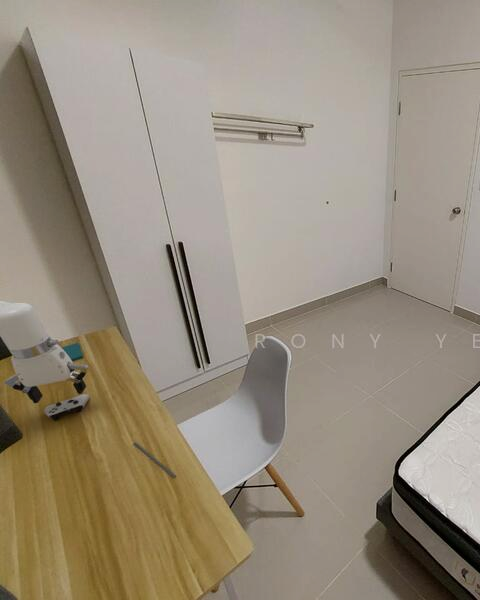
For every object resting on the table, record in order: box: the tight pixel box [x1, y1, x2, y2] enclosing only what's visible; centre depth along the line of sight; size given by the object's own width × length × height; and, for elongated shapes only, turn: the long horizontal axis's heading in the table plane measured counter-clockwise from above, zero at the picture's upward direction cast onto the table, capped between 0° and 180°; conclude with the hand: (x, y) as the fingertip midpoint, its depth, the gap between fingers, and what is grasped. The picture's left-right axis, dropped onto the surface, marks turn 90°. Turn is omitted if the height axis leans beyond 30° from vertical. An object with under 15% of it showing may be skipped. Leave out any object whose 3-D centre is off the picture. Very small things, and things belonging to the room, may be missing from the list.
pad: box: [60, 342, 84, 362], centre depth 118 cm, size 11×11×1 cm
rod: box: [133, 441, 177, 479], centre depth 85 cm, size 1×19×1 cm, turn 62°
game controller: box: [44, 393, 90, 422], centre depth 97 cm, size 10×5×6 cm
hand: (60, 395), depth 95 cm, fingers open, 9 cm apart
